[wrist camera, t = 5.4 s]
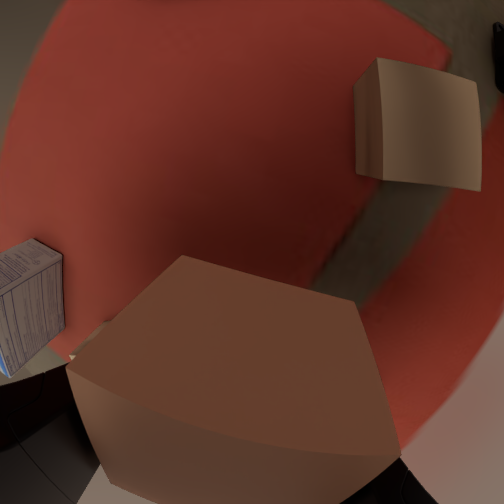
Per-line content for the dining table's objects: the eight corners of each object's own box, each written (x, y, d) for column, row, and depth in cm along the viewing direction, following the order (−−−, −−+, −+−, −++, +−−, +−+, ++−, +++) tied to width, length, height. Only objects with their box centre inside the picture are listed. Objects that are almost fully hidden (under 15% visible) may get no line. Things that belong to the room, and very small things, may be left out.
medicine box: (33, 236, 19) (-42, 271, 11) (65, 254, 19) (-16, 300, 11) (37, 308, 21) (-20, 351, 13) (67, 328, 21) (9, 381, 13)
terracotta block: (354, 301, 8) (401, 455, 3) (298, 412, 9) (289, 531, 4) (181, 254, 8) (65, 366, 3) (168, 376, 9) (110, 483, 5)
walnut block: (431, 99, 12) (476, 82, 7) (433, 180, 14) (480, 191, 9) (352, 86, 13) (376, 57, 8) (355, 173, 14) (382, 180, 10)
